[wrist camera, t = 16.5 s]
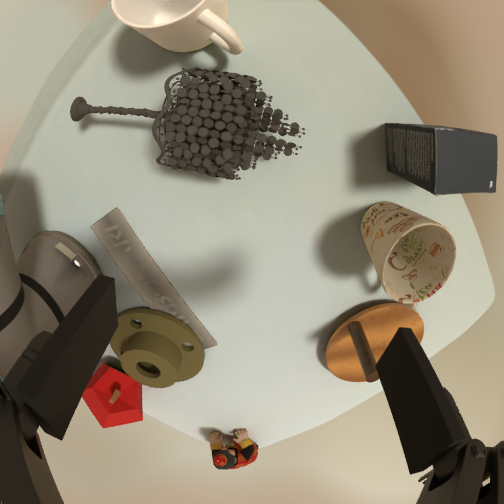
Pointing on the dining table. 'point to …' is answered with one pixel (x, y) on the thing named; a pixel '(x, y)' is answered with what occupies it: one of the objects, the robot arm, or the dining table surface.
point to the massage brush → (210, 122)
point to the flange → (156, 348)
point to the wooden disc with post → (368, 340)
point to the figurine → (233, 451)
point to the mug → (407, 252)
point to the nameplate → (145, 273)
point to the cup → (180, 23)
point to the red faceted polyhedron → (114, 397)
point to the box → (442, 158)
